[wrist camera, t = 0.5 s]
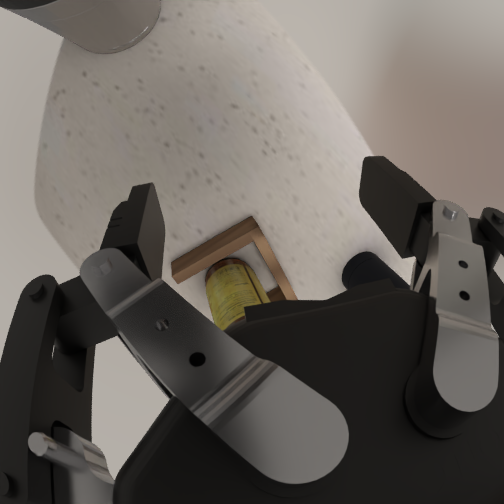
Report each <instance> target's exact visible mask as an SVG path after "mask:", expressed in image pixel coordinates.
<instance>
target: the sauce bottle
mask: <svg viewBox="0 0 504 504" xmlns="http://www.w3.org/2000/svg"><path fill="white" fill-rule="evenodd" d="M205 281H206V294H207V298H208V302H209V306H210V309H211V313H212V316H213V320H214V323H215V325H216V326H217V327H219V328H220V329H221V330H222V331H223V330H225V329H226V328H227V327H229V326H231V325H232V324H234V323H236V322H238V321H240V320H243V319H245V313H244V307H245V306H251V305H257V304H263V303H268V302H270V300H269V298H268V296H267V295H266V293H265V291H264V289H263V287H262V285H261V283H260V282H259V280H258V278H257V276H256V274H255V273H254V271H253V270H252V269H251V268H250V267H249V265H247V264H246V263H245V262H243V261H241V260H239V259H227V260H222V261H220V262H218V263H216V264H215V265H213V267H212V268H211V269H210V270H209V272H208V273H207V276H206V279H205Z"/></svg>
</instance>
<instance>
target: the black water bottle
mask: <svg viewBox="0 0 504 504" xmlns="http://www.w3.org/2000/svg"><path fill="white" fill-rule="evenodd" d="M387 278H390V280H391V281H392V283H393V285H394V286H395V288H400V289H408V290H410V285H408V284H407V283H406V282H405V281H404V280H403V279H402V278H401V277H400V276H399V275H398V274H396V273H395V272H394V271H393V270H392V269H391V268H390V267H389V266H388V265H386V264H385V263H384V262H383V261H382V260H381V259H380V258H379V257H377V256H376V255H375V254H373V253H371V252H363V253H360V254H358V255H356V256H354V257H353V258H352V259H351V260H350V261H349V262H348V263H347V265H346V266H345V268H344V271H343V274H342V282H343V284H344V286H345V287H346V288H347V290H349V289H351V288H353V287H355V286H357V285H360V284H365V283H369V282H374V281H378V280H383V279H387Z"/></svg>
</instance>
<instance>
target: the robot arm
mask: <svg viewBox="0 0 504 504" xmlns="http://www.w3.org/2000/svg"><path fill="white" fill-rule="evenodd" d="M0 7H2V8H5V9H7V10H9V11H11V12H13V13H16V14H18V15H20V16H22V17H24V18H27V19H29V20H31V21H33V22H35V23H37V24H39V25H41V26H43V27H45V28H47V29H49V30H51V31H53V32H55V33H57V34H59V35H60V36H62V37H64V38H66V39H68V40H70V41H72V42H73V43H75V44H77V45H79V46H81V47H82V48H84V49H86V50H88V51H91V52H94V53H101V54H108V53H116V52H119V51H122V50H125V49H127V48H129V47H131V46H133V45H135V44H136V43H138V42H139V41H141V40H142V39H143V38H144V37H145V36H146V35H147V34H148V33H149V32H150V31H151V29H152V28H153V27H154V25H155V23H156V21H157V19H158V17H159V12H160V0H0ZM359 198H360V202H361V204H362V206H363V208H364V209H365V210H366V211H367V213H368V214H369V215H370V216H371V218H372V219H373V220H374V222H375V223H376V224H377V225H378V227H379V228H380V229H381V231H382V232H383V233H384V235H385V236H386V237H387V239H388V240H389V241H390V243H391V244H392V245H393V247H394V248H395V250H396V251H397V252H398V254H399V255H400V256H401V258H402V259H403V258H408V257H413V256H415V257H416V259H415V262H414V264H413V271H412V278H411V284H410V290H408V289H400V288H395V286H394V285H393V283H392V281H391V280H390V278H387V279H383V280H378V281H374V282H369V283H365V284H360V285H357V286H355V287H353V288H351V289H349V290H347V291H345V292H343V293H340V294H338V295H336V296H334V297H332V298H330V299H327V300H280V301H274V302H268V303H263V304H257V305H251V306H245V307H244V313H245V319H243V320H240V321H238V322H236V323H234V324H232V325H231V326H229V327H227V328H226V329H225V330H223V331H222V330H221V329H220V328H219V327H217V326H216V325H215V324H214V323H213V322H211V321H210V320H209V319H208V318H206V317H205V316H204V315H203V314H202V313H200V312H199V311H198V310H197V309H196V308H194V307H193V306H192V305H191V304H190V303H189V302H187V301H186V300H185V299H184V298H183V297H182V296H180V295H179V294H178V293H177V292H176V291H175V290H173V289H172V288H171V287H170V286H169V285H168V284H167V283H166V282H164V281H163V280H162V279H161V278H162V265H163V253H164V242H165V224H164V219H163V215H162V212H161V208H160V204H159V201H158V197H157V193H156V189H155V186H154V184H153V183H147V184H142V185H137V186H133V187H132V190H131V192H130V195H129V198H128V201H124V202H121V203H120V204H119V205H118V206H117V207H116V208H115V210H114V211H113V213H112V216H111V218H110V221H109V224H108V229H107V230H106V233H105V235H104V238H103V241H102V244H101V247H100V250H99V251H97V252H95V253H93V254H92V255H90V256H89V257H88V258H87V259H86V260H85V261H84V262H83V264H82V266H81V268H80V275H79V276H78V277H76V278H73V279H71V280H69V281H66V282H64V283H62V284H60V285H59V284H58V283H57V281H56V280H55V278H54V277H53V276H51V275H42V276H39V277H37V278H35V279H33V280H32V281H31V282H29V283H28V284H27V285H26V287H25V288H24V289H23V291H22V293H21V295H20V298H19V301H18V304H17V306H16V310H15V312H14V316H13V319H12V322H11V325H10V328H9V332H8V335H7V339H6V342H5V346H4V350H3V354H2V358H1V362H0V504H504V283H503V282H502V281H501V279H500V278H499V277H498V275H497V274H496V272H495V271H494V269H493V268H494V266H495V264H496V262H497V260H498V258H499V256H500V254H502V255H503V256H504V213H502V212H501V211H499V210H497V209H494V208H490V207H487V208H484V209H483V212H482V214H481V217H480V219H476V218H469V217H468V214H467V213H466V212H465V210H464V209H463V208H462V207H460V206H459V205H457V204H455V203H453V202H450V201H446V200H436V199H435V198H434V197H433V196H431V195H430V194H429V193H428V192H427V191H426V190H425V189H424V188H423V187H422V186H420V185H419V184H418V183H417V182H416V181H415V180H413V178H412V177H411V176H409V175H408V174H407V173H406V172H404V171H402V170H400V169H399V168H397V167H396V166H395V165H394V164H393V163H392V162H390V161H389V160H388V159H386V158H385V157H384V156H368V157H365V158H364V160H363V165H362V173H361V181H360V189H359ZM491 324H492V325H493V327H494V329H495V331H496V332H497V333H496V332H495V331H493V330H492V328H491ZM497 334H498V335H497ZM115 336H118V338H119V339H120V340H121V342H122V343H123V344H124V345H125V347H126V348H127V349H128V351H129V352H130V353H131V354H132V356H133V357H134V358H135V359H136V361H137V362H138V363H139V364H140V365H141V367H142V368H143V369H144V370H145V371H146V373H147V374H148V375H149V376H150V378H151V379H152V380H153V381H154V382H155V384H156V385H157V386H158V387H159V388H160V390H161V391H162V392H163V393H164V394H165V395H166V396H167V397H168V398H169V401H168V403H167V404H166V406H165V407H164V409H163V410H162V411H161V413H160V414H159V416H158V417H157V418H156V420H155V421H154V423H153V424H152V426H151V427H150V428H149V430H148V431H147V433H146V434H145V436H144V437H143V438H142V440H141V441H140V442H139V444H138V445H137V447H136V448H135V449H134V451H133V452H132V454H131V455H130V456H129V458H128V459H127V461H126V462H125V463H124V465H123V466H122V468H121V469H120V471H119V472H118V474H117V477H116V479H115V480H114V479H113V478H112V476H111V475H110V473H109V470H108V467H107V463H106V459H105V456H104V454H103V452H102V451H101V450H100V448H98V447H97V446H96V445H95V444H93V443H92V436H91V416H92V414H91V413H92V411H91V409H92V385H93V369H94V356H95V346H96V344H98V343H101V342H103V341H106V340H108V339H110V338H113V337H115ZM498 336H499V337H498ZM53 346H55V347H54V352H53ZM52 352H53V358H52Z"/></svg>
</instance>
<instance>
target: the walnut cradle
mask: <svg viewBox="0 0 504 504" xmlns="http://www.w3.org/2000/svg"><path fill="white" fill-rule="evenodd" d="M253 241H254V242H255V244H256V246H257V247H258V249H259V251H260V253H261V255H262V256H263V258H264V260H265V262H266V263H267V265H268V267H269V269H270V271H271V272H272V274H273V276H274V278H275V280H276V281H277V283H278V285H279V286H278V287H277V288H275V289H273V290H271V291H270V292H268V293H266V295H267V296H268V298H269V300H270V302H274V301H280V300H298V299H297V297H296V295H295V293H294V291H293V289H292V287H291V285H290V283H289V282H288V280H287V278H286V276H285V274H284V272H283V270H282V268H281V266H280V265H279V263H278V261H277V259H276V257H275V255H274V253H273V251H272V249H271V248H270V246H269V244H268V242H267V240H266V238H265V236H264V234H263V233H262V231H261V229H260V227H259V225H258V224H257V222H256V221H255V219H254V218H253V216H251V217H249V218H247V219H246V220H244V221H242V222H240V223H239V224H237V225H235V226H233V227H232V228H230V229H228V230H226V231H225V232H223V233H221V234H219V235H218V236H216V237H214V238H212V239H211V240H209V241H207V242H205V243H204V244H202V245H200V246H199V247H197V248H195V249H193V250H192V251H190V252H188V253H187V254H185V255H183V256H181V257H180V258H178V259H176V260H175V261H173V262H171V268H172V277H173V279H174V280H175V281H176V282H177V284H179V283H181V282H183V281H184V280H186V279H188V278H190V277H191V276H193V275H195V274H197V273H198V272H200V271H202V270H204V269H205V268H207V267H209V266H211V265H212V264H214V263H216V262H218V261H219V260H221V259H223V258H225V257H226V256H228V255H230V254H232V253H233V252H235V251H237V250H239V249H241V248H242V247H244V246H246V245H248V244H249V243H251V242H253Z"/></svg>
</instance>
